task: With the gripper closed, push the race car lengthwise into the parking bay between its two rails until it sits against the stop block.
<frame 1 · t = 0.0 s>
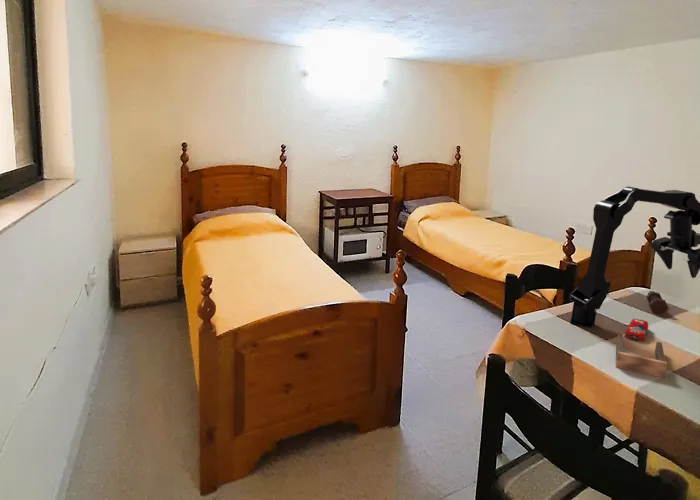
hand: (681, 273, 153), 15 cm above the table, tool pointing down, fingers open, 9 cm apart
race car: (636, 334, 144), on the table
parking bay: (638, 358, 128), on the table
bolt: (654, 307, 166), on the table
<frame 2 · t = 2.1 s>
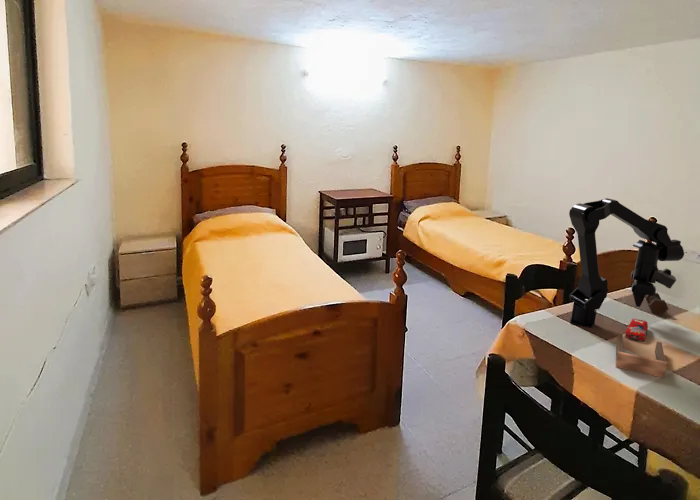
hand: (637, 306, 153), 5 cm above the table, tool pointing down, fingers closed
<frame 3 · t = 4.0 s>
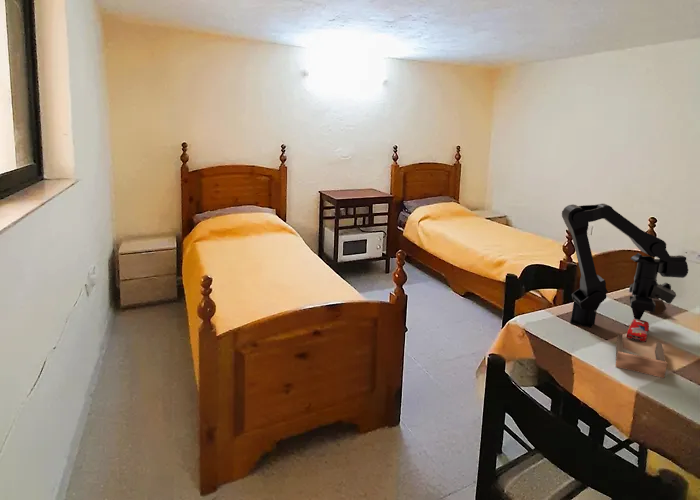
hand: (636, 321, 149), 2 cm above the table, tool pointing down, fingers closed
race car: (637, 335, 143), on the table, touching gripper
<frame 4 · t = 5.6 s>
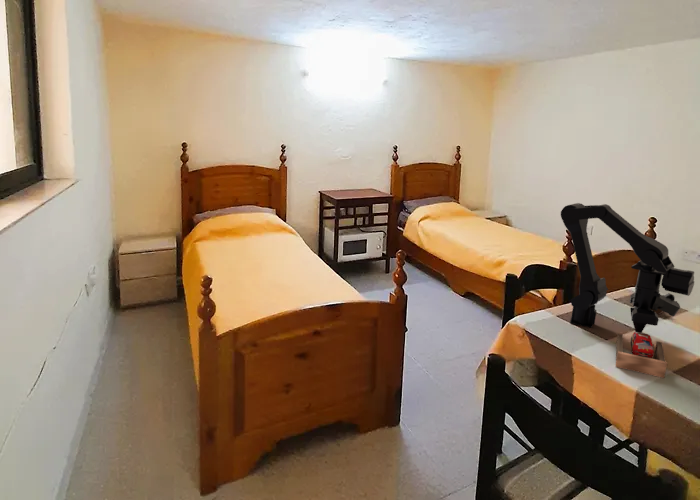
hand: (638, 334, 139), 2 cm above the table, tool pointing down, fingers closed
race car: (640, 350, 133), resting in parking bay, touching gripper
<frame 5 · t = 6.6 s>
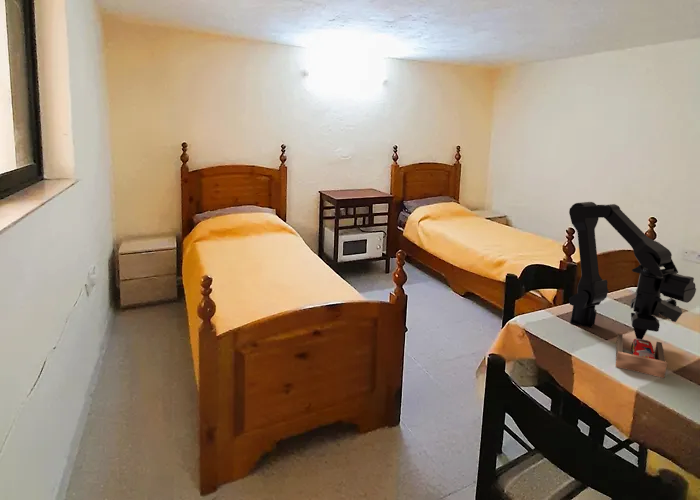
hand: (639, 340, 135), 2 cm above the table, tool pointing down, fingers closed
race car: (641, 357, 129), resting in parking bay, touching gripper
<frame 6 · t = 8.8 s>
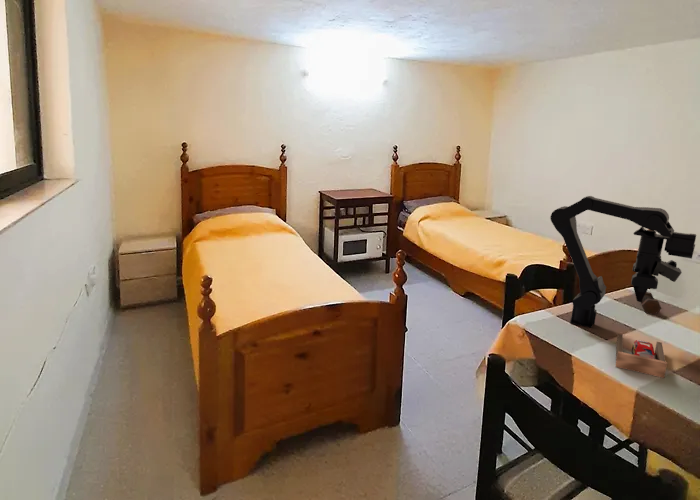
hand: (639, 301, 139), 11 cm above the table, tool pointing down, fingers closed
race car: (642, 359, 129), resting in parking bay
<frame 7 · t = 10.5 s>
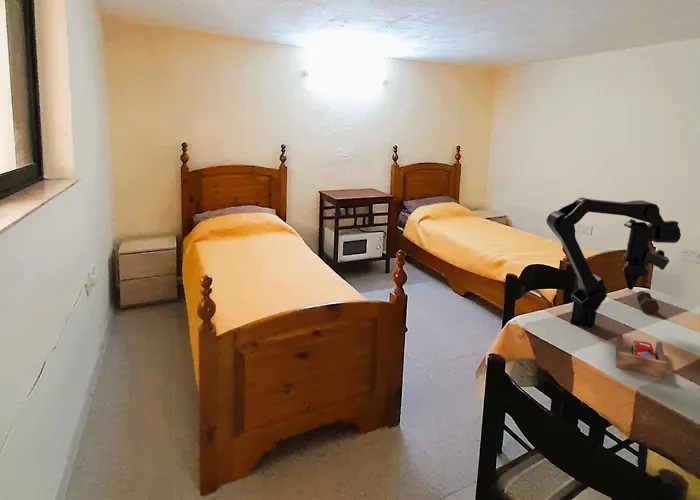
hand: (630, 289, 147), 12 cm above the table, tool pointing down, fingers closed
at the end: race car inside the target area on the parking bay (1.6 cm from its centre), point -0.5 cm above the parking bay's base; race car tilted 0°; race car moved 17.7 cm from its start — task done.
